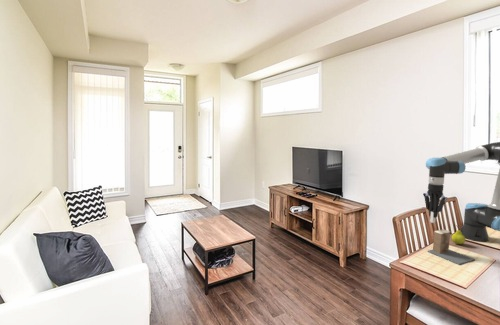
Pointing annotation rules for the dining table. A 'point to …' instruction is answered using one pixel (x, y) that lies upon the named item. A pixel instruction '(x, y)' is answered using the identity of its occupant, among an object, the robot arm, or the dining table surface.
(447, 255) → the felt pad
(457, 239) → the fruit
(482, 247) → the dining table surface
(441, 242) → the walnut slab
